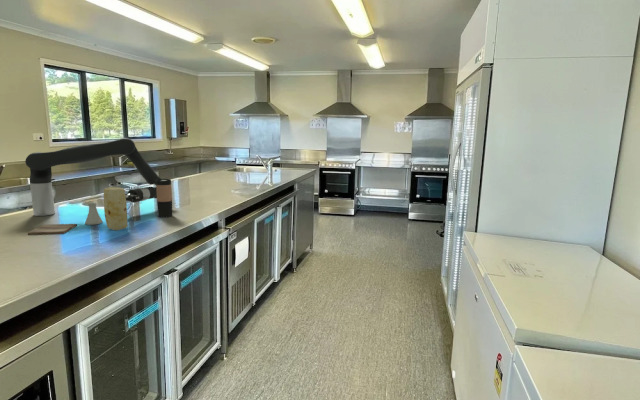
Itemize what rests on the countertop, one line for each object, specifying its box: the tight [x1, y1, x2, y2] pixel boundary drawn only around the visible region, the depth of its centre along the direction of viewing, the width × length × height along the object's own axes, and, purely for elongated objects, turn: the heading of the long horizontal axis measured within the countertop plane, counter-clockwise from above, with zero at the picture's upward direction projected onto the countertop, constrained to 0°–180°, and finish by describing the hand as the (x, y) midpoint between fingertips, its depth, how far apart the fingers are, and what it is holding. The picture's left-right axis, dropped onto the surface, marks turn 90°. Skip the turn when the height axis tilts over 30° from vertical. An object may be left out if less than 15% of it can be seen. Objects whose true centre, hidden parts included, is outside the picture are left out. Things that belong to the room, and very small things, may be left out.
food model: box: [103, 186, 129, 232], centre depth 171 cm, size 10×7×20 cm
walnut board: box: [27, 223, 78, 236], centre depth 169 cm, size 14×14×1 cm
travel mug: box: [155, 178, 173, 218], centre depth 200 cm, size 8×8×20 cm
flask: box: [84, 202, 104, 226], centre depth 181 cm, size 7×7×10 cm
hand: (113, 199), depth 191 cm, fingers open, 8 cm apart
